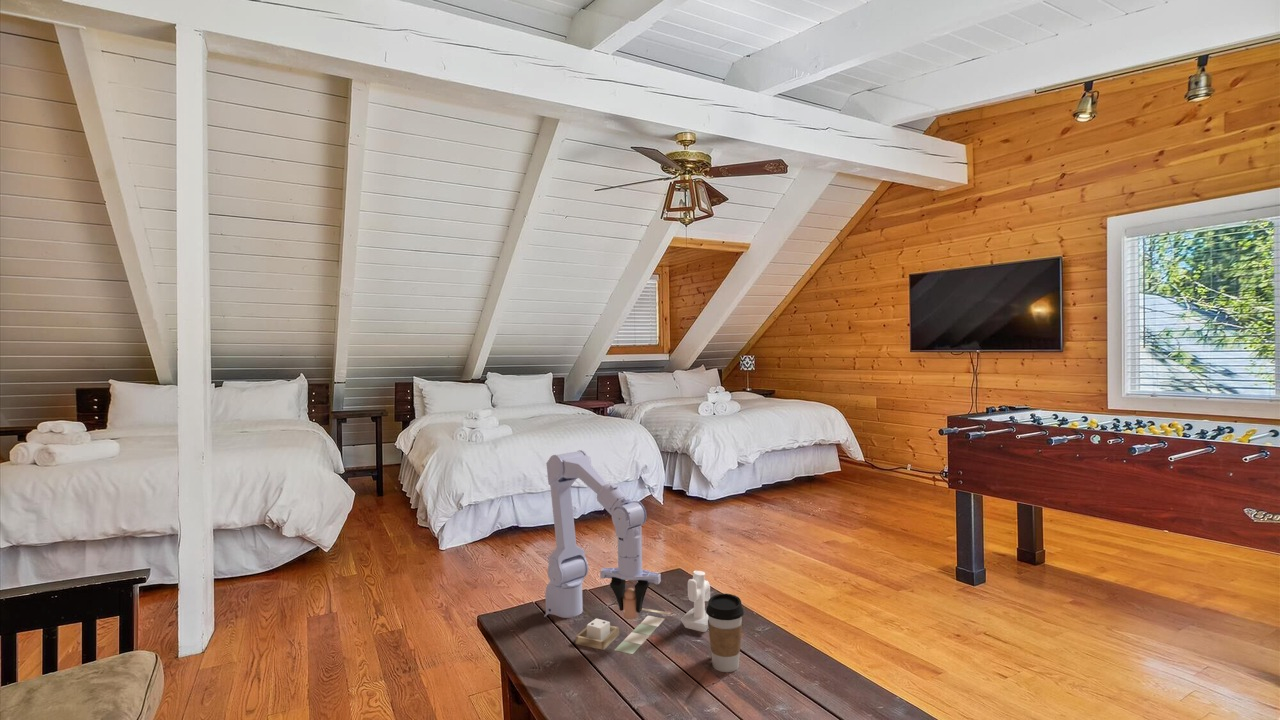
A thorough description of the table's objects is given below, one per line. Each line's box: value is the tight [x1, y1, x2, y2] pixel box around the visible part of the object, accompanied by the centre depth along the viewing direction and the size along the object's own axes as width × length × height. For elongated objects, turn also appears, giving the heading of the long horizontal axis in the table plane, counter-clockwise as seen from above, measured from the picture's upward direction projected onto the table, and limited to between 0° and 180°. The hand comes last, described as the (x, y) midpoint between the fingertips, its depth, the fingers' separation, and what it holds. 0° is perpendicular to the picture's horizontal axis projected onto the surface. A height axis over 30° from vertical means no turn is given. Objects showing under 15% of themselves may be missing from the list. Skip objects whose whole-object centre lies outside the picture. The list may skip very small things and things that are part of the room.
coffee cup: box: [705, 593, 745, 673], centre depth 148 cm, size 8×8×15 cm
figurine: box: [680, 570, 711, 633], centre depth 165 cm, size 7×9×15 cm
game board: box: [575, 604, 672, 655], centre depth 164 cm, size 15×26×3 cm, turn 156°
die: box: [586, 617, 611, 641], centre depth 159 cm, size 4×4×4 cm
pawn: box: [622, 587, 639, 620], centre depth 156 cm, size 4×4×7 cm
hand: (630, 609), depth 156 cm, fingers closed on pawn, 4 cm apart
